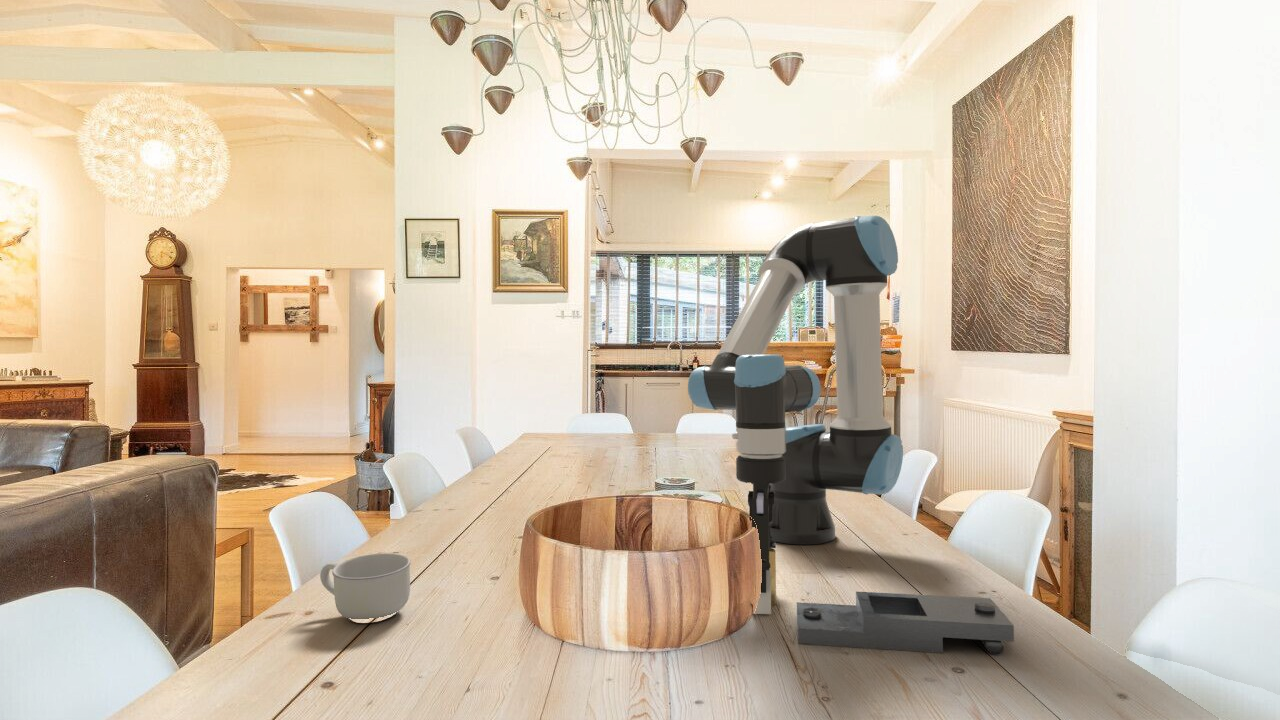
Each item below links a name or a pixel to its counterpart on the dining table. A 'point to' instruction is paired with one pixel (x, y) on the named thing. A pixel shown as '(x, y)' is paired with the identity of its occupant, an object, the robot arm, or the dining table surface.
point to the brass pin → (773, 575)
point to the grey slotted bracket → (904, 622)
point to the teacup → (369, 585)
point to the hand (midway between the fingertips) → (762, 600)
